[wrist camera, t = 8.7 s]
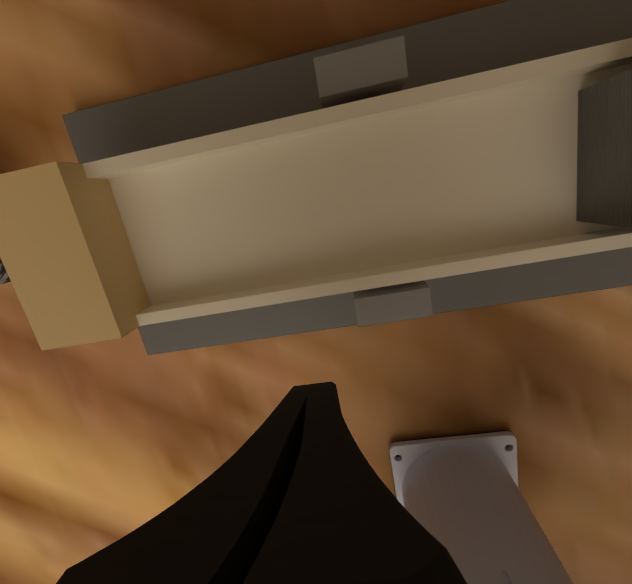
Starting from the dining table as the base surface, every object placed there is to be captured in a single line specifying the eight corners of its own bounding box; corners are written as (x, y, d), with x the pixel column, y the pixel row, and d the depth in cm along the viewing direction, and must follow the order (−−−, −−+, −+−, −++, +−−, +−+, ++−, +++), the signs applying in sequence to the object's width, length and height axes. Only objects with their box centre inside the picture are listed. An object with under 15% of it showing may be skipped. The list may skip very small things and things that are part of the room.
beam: (719, 217, 14) (868, 228, 10) (112, 318, 18) (44, 355, 14) (744, 24, 12) (938, -56, 8) (59, 178, 16) (-37, 174, 12)
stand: (661, 273, 19) (817, 315, 12) (156, 348, 22) (85, 407, 16) (688, -36, 15) (931, -196, 9) (76, 118, 19) (-54, 84, 13)
